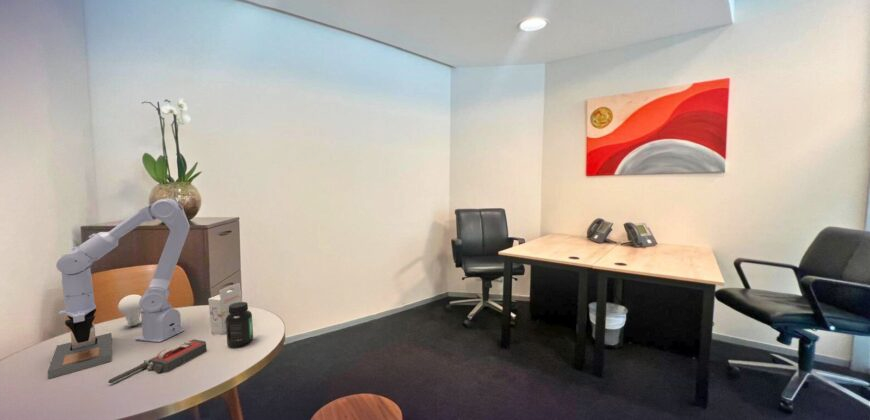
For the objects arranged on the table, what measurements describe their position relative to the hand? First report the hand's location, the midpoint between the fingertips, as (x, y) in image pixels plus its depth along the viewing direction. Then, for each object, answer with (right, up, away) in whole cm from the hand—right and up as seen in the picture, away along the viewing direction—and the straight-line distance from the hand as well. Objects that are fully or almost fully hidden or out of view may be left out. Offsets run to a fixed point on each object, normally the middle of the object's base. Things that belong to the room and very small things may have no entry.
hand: (83, 338), depth 92 cm
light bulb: (-1, -3, +16) cm, 16 cm away
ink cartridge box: (+33, -3, +14) cm, 36 cm away
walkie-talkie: (+30, -5, -7) cm, 31 cm away
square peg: (0, -3, 0) cm, 3 cm away
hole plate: (+3, -4, -3) cm, 6 cm away
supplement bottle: (+43, -3, +4) cm, 43 cm away
